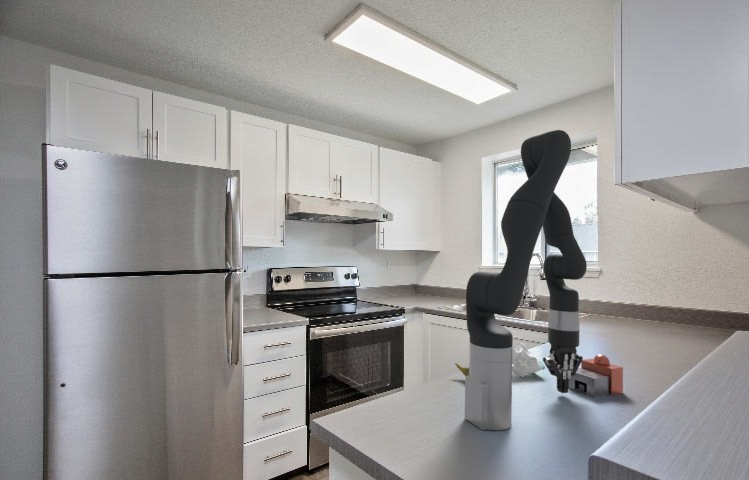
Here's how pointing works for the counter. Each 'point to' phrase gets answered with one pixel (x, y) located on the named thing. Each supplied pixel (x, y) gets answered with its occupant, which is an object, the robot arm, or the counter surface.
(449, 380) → the counter surface
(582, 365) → the red domed block
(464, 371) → the neti pot
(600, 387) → the block
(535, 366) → the jaw support
